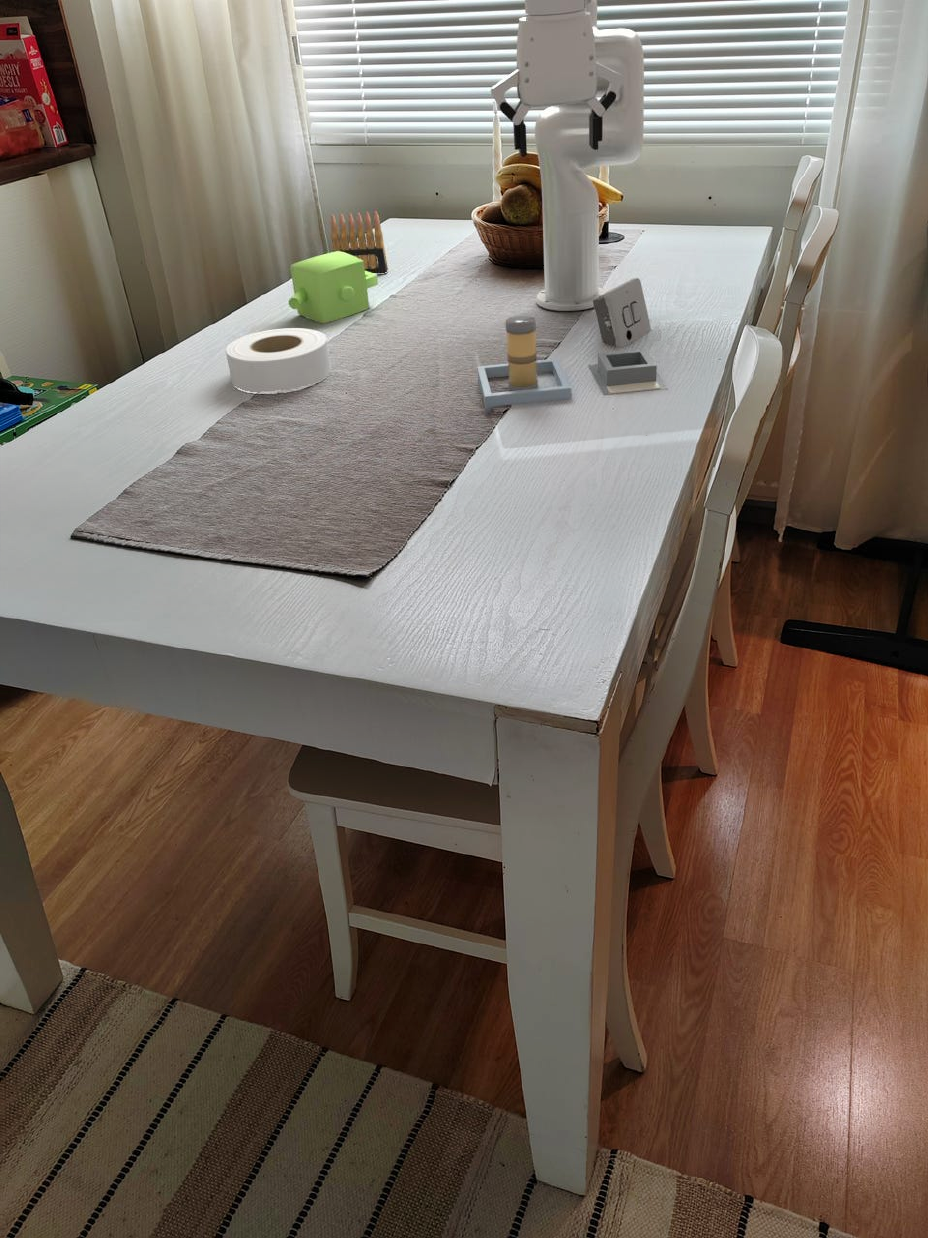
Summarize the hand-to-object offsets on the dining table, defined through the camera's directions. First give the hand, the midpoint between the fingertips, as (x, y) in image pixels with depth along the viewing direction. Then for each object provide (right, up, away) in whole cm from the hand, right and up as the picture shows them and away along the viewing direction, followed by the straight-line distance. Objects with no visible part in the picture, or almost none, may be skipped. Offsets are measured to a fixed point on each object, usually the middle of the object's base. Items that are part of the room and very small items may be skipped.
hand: (558, 151), depth 133 cm
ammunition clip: (-34, +7, +69) cm, 77 cm away
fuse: (-4, -30, +9) cm, 32 cm away
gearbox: (-37, -8, +48) cm, 61 cm away
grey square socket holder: (+11, -29, +9) cm, 32 cm away
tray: (-4, -31, +9) cm, 32 cm away
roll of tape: (-42, -25, +23) cm, 54 cm away
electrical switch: (+12, -19, +24) cm, 33 cm away
